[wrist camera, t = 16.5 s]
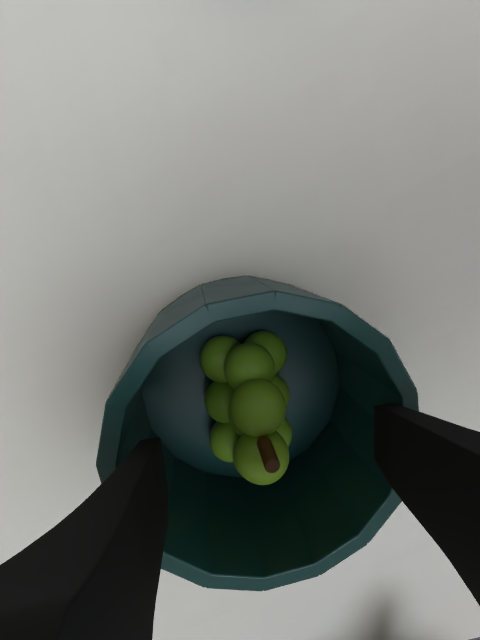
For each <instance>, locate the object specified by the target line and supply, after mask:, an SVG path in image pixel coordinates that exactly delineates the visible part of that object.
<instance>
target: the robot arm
mask: <svg viewBox="0 0 480 640" xmlns="http://www.w3.org/2000/svg"><path fill="white" fill-rule="evenodd" d="M374 460H375V461H376V463H377V465H378V466H379V468H380V470H381V472H382V473H383V475H384V477H385V478H386V480H387V481H388V483H389V484H390V486H391V487H392V489H393V490H394V491H395V492H396V494H397V495H398V496H399V497H400V499H401V500H402V501H403V502H404V504H405V505H406V506H407V507H408V509H409V510H410V511H411V512H412V514H413V515H414V516H415V517H416V518H417V520H418V521H419V522H420V523H421V525H422V526H423V527H424V528H425V530H426V531H427V532H428V533H429V535H430V536H431V537H432V538H433V539H434V541H435V542H436V543H437V544H438V546H439V547H440V548H441V550H442V551H443V552H444V554H445V555H446V556H447V558H448V559H449V560H450V562H451V563H452V565H453V566H454V568H455V569H456V571H457V572H458V574H459V575H460V577H461V578H462V580H463V581H464V583H465V584H466V586H467V587H468V589H469V590H470V592H471V593H472V595H473V596H474V598H475V599H476V601H477V602H478V604H479V606H480V432H478V431H474V430H471V429H468V428H465V427H462V426H459V425H456V424H453V423H450V422H447V421H444V420H441V419H438V418H436V417H433V416H430V415H427V414H424V413H421V412H419V411H416V410H413V409H410V408H407V407H404V406H400V405H396V404H392V403H389V404H383V405H376V406H374ZM168 497H169V492H168V486H167V479H166V473H165V466H164V459H163V453H162V446H161V439H160V437H157V438H150V439H144V440H140V441H139V442H138V444H137V445H136V446H135V447H134V448H133V449H132V451H131V452H130V453H129V454H128V455H127V456H126V458H125V459H124V460H123V461H122V462H121V463H120V465H119V466H118V467H117V468H116V469H115V470H114V471H113V472H112V474H111V475H110V476H109V477H108V478H107V479H106V480H105V481H104V482H103V483H102V484H101V485H100V486H99V487H98V488H97V489H96V490H95V491H94V492H93V493H92V494H91V495H90V496H89V497H88V498H87V499H86V500H85V501H84V502H83V503H82V504H81V505H80V506H78V507H77V508H76V509H75V510H74V511H73V512H72V513H70V514H69V515H68V516H67V517H66V518H64V519H63V520H62V521H61V522H60V523H58V524H57V525H56V526H55V527H53V528H52V529H51V530H49V531H48V532H47V533H45V534H44V535H43V536H41V537H40V538H39V539H37V540H36V541H34V542H33V543H32V544H30V545H29V546H28V547H26V548H25V549H24V550H22V551H21V552H19V553H18V554H16V555H15V556H13V557H12V558H10V559H9V560H7V561H6V562H4V563H3V564H1V565H0V640H152V634H153V619H154V611H155V602H156V595H157V589H158V583H159V576H160V570H161V563H162V557H163V551H164V544H165V538H166V531H167V524H168ZM469 640H480V637H478V638H474V639H469Z"/></svg>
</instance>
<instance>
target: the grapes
mask: <svg viewBox="0 0 480 640" xmlns="http://www.w3.org/2000/svg"><path fill="white" fill-rule="evenodd" d="M286 359H287V349H286V345H285V343H284V342H283V340H282V339H281V338H280V337H279V336H278V335H277V334H275V333H273V332H270V331H258V332H255V333H253V334H251V335H250V336H249V337H248V338H247V339H246V340H245V341H244V343H242V344H240V343H239V342H238V341H237V340H236V339H234V338H232V337H229V336H217V337H214V338H212V339H210V340H209V341H207V342H206V343H205V345H204V346H203V348H202V349H201V352H200V358H199V361H200V366H201V369H202V371H203V372H204V374H205V375H206V376H207V377H208V378H210V379H211V380H213V381H214V382H213V383H211V384H210V386H209V387H208V389H207V390H206V393H205V398H204V403H205V408H206V410H207V412H208V414H209V415H210V416H211V417H212V418H213V419H214V420H216V421H217V422H216V423H215V424H214V425H213V427H212V429H211V431H210V434H209V444H210V448H211V450H212V452H213V453H214V455H215V456H216V457H217V458H218V459H220V460H222V461H224V462H229V463H232V462H233V463H234V466H235V468H236V470H237V471H238V473H239V474H240V475H241V476H242V477H244V478H245V479H246V480H248V481H249V482H251V483H254V484H257V485H268V484H271V483H274V482H276V481H277V480H279V479H280V478H281V477H282V476H283V474H284V473H285V471H286V469H287V467H288V464H289V449H288V446H289V445H290V442H291V439H292V428H291V425H290V423H289V421H288V420H287V418H286V417H285V415H286V407H287V405H288V402H289V398H290V392H289V387H288V385H287V383H286V381H285V380H284V379H283V378H282V377H281V376H279V375H278V374H276V373H278V372H279V371H280V370H281V369H282V368H283V367H284V365H285V363H286Z"/></svg>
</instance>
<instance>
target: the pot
mask: <svg viewBox="0 0 480 640" xmlns="http://www.w3.org/2000/svg"><path fill="white" fill-rule="evenodd" d="M258 331H270V332H273V333H275V334H277V335H278V336H279V337H280V338H281V339H282V340H283V342H284V343H285V345H286V349H287V359H286V363H285V365H284V367H283V368H282V369H281V370H280V371H279V372H278V373H276V374H278V375H279V376H281V377H282V378H283V379H284V380H285V381H286V383H287V385H288V387H289V392H290V398H289V402H288V405H287V407H286V415H285V417H286V418H287V420H288V421H289V423H290V425H291V428H292V439H291V442H290V445H289V446H288V449H289V464H288V467H287V469H286V471H285V473H284V474H283V476H282V477H281V478H280V479H279V480H277V481H276V482H274V483H271V484H268V485H257V484H254V483H251V482H249V481H248V480H246V479H245V478H244V477H242V476H241V475H240V474H239V473H238V471H237V470H236V468H235V466H234V463H233V462H232V463H229V462H224V461H222V460H220V459H218V458H217V457H216V456H215V455H214V453H213V452H212V450H211V448H210V444H209V434H210V431H211V429H212V427H213V425H214V424H215V423H216V422H217V421H216V420H214V419H213V418H212V417H211V416H210V415H209V414H208V412H207V410H206V408H205V403H204V398H205V393H206V390H207V389H208V387H209V386H210V384H211V383H213V382H214V381H213V380H211V379H210V378H208V377H207V376H206V375H205V374H204V372H203V371H202V369H201V366H200V361H199V358H200V352H201V349H202V348H203V346H204V345H205V343H206V342H207V341H209V340H210V339H212V338H214V337H217V336H229V337H232V338H234V339H236V340H237V341H238V342H239V343H240V344H242V343H244V341H245V340H246V339H247V338H248V337H249V336H250V335H251V334H253V333H255V332H258ZM416 390H417V389H416V387H415V385H414V383H413V382H412V380H411V378H410V376H409V374H408V372H407V370H406V369H405V367H404V365H403V363H402V361H401V359H400V358H399V356H398V354H397V352H396V350H395V348H394V346H393V345H392V343H391V341H390V340H389V339H388V338H387V337H386V336H384V335H383V334H382V333H380V332H379V331H377V330H376V329H375V328H373V327H372V326H371V325H369V324H368V323H367V322H365V321H364V320H362V319H361V318H360V317H358V316H357V315H356V314H354V313H353V312H352V311H350V310H349V309H347V308H346V307H345V306H343V305H342V304H339V303H337V302H334V301H332V300H329V299H326V298H324V297H321V296H319V295H316V294H313V293H311V292H308V291H306V290H303V289H300V288H298V287H295V286H293V285H290V284H285V283H281V282H276V281H272V280H269V279H263V278H257V277H253V276H241V277H233V278H225V279H220V280H216V281H213V282H209V283H205V284H202V285H199V286H197V287H196V288H194V289H192V290H190V291H189V292H187V293H185V294H183V295H182V296H180V297H179V298H178V299H176V300H175V301H174V302H172V303H171V304H170V305H168V306H167V307H165V308H164V309H162V310H161V311H160V313H159V314H158V316H157V317H156V319H155V320H154V322H153V323H152V324H151V326H150V327H149V329H148V331H147V332H146V334H145V335H144V337H143V338H142V340H141V341H140V343H139V344H138V346H137V347H136V349H135V351H134V352H133V354H132V356H131V358H130V359H129V361H128V363H127V365H126V367H125V368H124V370H123V372H122V374H121V376H120V377H119V379H118V381H117V383H116V385H115V386H114V388H113V390H112V392H111V394H110V395H109V397H108V399H107V402H106V404H105V411H104V417H103V423H102V429H101V435H100V442H99V448H98V454H97V460H96V467H97V470H98V474H99V477H100V480H101V484H102V483H103V482H104V481H105V480H106V479H107V478H108V477H109V476H110V475H111V474H112V472H113V471H114V470H115V469H116V468H117V467H118V466H119V465H120V463H121V462H122V461H123V460H124V459H125V458H126V456H127V455H128V454H129V453H130V452H131V451H132V449H133V448H134V447H135V446H136V445H137V444H138V442H139V441H140V440H144V439H150V438H157V437H160V439H161V446H162V453H163V459H164V466H165V473H166V479H167V486H168V492H169V497H168V524H167V531H166V538H165V544H164V551H163V557H162V563H161V569H163V570H166V571H168V572H170V573H173V574H175V575H177V576H179V577H182V578H184V579H186V580H188V581H191V582H193V583H195V584H197V585H200V586H202V587H206V588H214V589H232V590H249V591H263V590H264V591H266V590H270V589H273V588H277V587H281V586H284V585H288V584H292V583H295V582H299V581H302V580H306V579H310V578H313V577H317V576H319V575H321V574H323V573H324V572H326V571H328V570H329V569H331V568H332V567H334V566H335V565H337V564H338V563H340V562H341V561H343V560H344V559H346V558H347V557H349V556H350V555H352V554H353V553H355V552H356V551H358V550H359V549H361V548H363V547H364V546H366V545H367V543H369V542H370V541H371V539H372V538H373V537H374V536H375V534H376V533H377V532H378V531H379V529H380V528H381V527H382V526H383V524H384V523H385V522H386V521H387V519H388V518H389V517H390V515H391V514H392V513H393V512H394V510H395V509H396V508H397V507H398V505H399V504H400V503H401V502H402V500H401V499H400V497H399V496H398V495H397V494H396V492H395V491H394V490H393V489H392V487H391V486H390V484H389V483H388V481H387V480H386V478H385V477H384V475H383V473H382V472H381V470H380V468H379V466H378V465H377V463H376V461H375V460H374V406H376V405H383V404H389V403H392V404H396V405H400V406H404V407H407V408H410V409H413V410H416V411H419V407H418V393H417V391H416Z"/></svg>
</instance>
